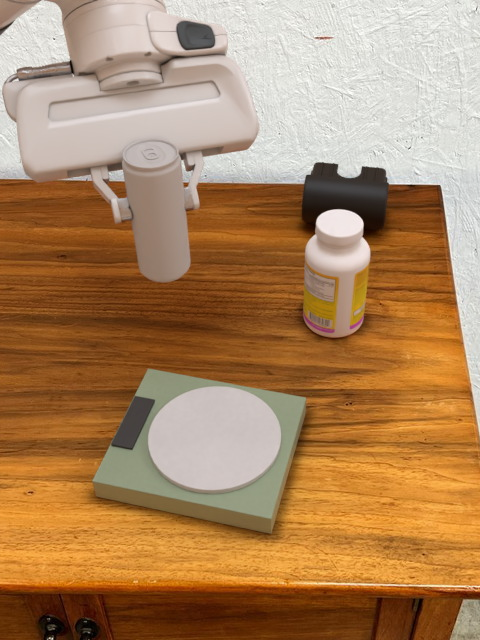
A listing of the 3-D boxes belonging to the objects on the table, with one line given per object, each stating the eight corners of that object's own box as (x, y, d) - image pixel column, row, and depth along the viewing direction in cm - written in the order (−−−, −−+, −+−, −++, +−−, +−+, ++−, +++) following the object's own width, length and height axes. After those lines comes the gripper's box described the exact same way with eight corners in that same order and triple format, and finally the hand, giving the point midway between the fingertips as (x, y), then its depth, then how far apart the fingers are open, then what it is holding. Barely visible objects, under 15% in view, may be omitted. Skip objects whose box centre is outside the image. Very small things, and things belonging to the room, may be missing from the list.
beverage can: (148, 291, 69) (130, 174, 61) (132, 260, 72) (113, 144, 64) (198, 277, 71) (188, 160, 62) (181, 247, 74) (169, 132, 65)
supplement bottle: (355, 296, 88) (365, 200, 78) (369, 336, 83) (382, 239, 74) (297, 303, 87) (300, 206, 78) (308, 343, 82) (313, 245, 73)
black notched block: (300, 235, 96) (302, 188, 91) (308, 203, 100) (310, 156, 96) (381, 244, 95) (387, 196, 90) (385, 211, 99) (391, 164, 95)
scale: (96, 496, 69) (90, 476, 66) (150, 384, 78) (147, 363, 76) (271, 534, 66) (271, 514, 64) (305, 413, 76) (306, 393, 73)
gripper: (-9, 55, 61) (31, 230, 61) (243, 25, 65) (277, 187, 66) (1, 84, 67) (37, 242, 67) (231, 54, 71) (262, 203, 72)
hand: (158, 215), depth 67 cm, fingers closed on beverage can, 4 cm apart
